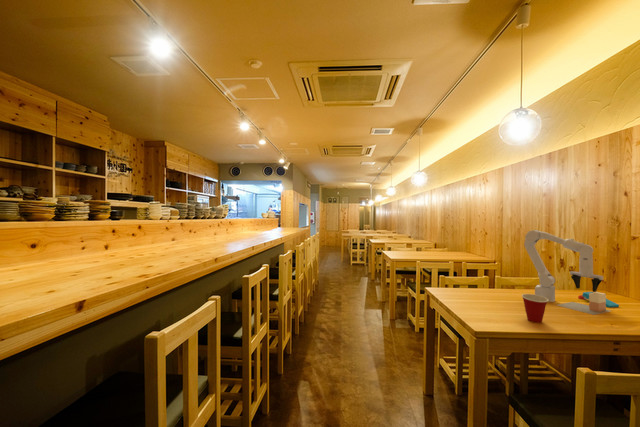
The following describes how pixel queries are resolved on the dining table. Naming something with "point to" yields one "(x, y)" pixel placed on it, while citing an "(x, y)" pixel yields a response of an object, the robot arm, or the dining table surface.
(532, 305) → the plastic cup
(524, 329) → the dining table surface
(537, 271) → the robot arm
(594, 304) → the terracotta base brick
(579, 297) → the teal bar
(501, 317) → the dining table surface
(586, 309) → the slate baseplate
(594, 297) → the cream brick
